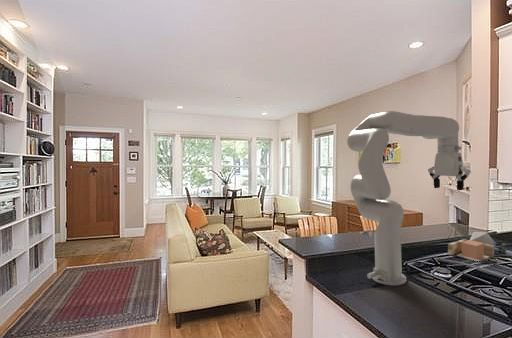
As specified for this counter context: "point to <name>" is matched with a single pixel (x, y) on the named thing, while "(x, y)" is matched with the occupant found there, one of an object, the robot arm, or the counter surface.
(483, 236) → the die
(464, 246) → the cube
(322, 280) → the counter surface
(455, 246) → the tan box
